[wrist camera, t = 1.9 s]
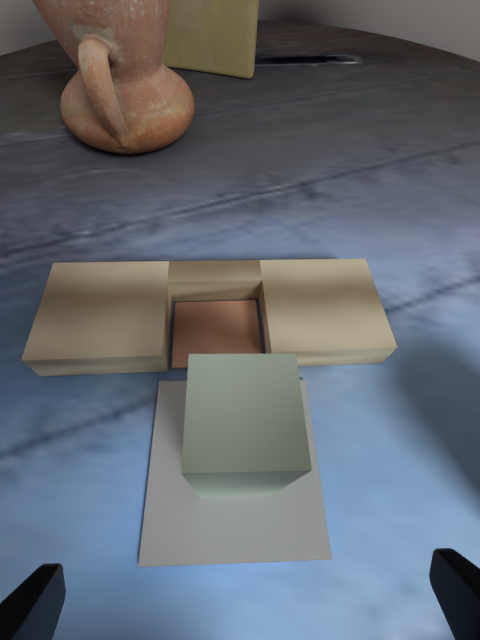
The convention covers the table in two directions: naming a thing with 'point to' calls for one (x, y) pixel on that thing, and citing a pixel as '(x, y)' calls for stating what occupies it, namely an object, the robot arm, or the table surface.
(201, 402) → the sage block
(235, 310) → the block
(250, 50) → the cheese
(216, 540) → the mat
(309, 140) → the table surface
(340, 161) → the table surface
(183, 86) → the ceramic jug
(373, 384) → the table surface
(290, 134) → the table surface
